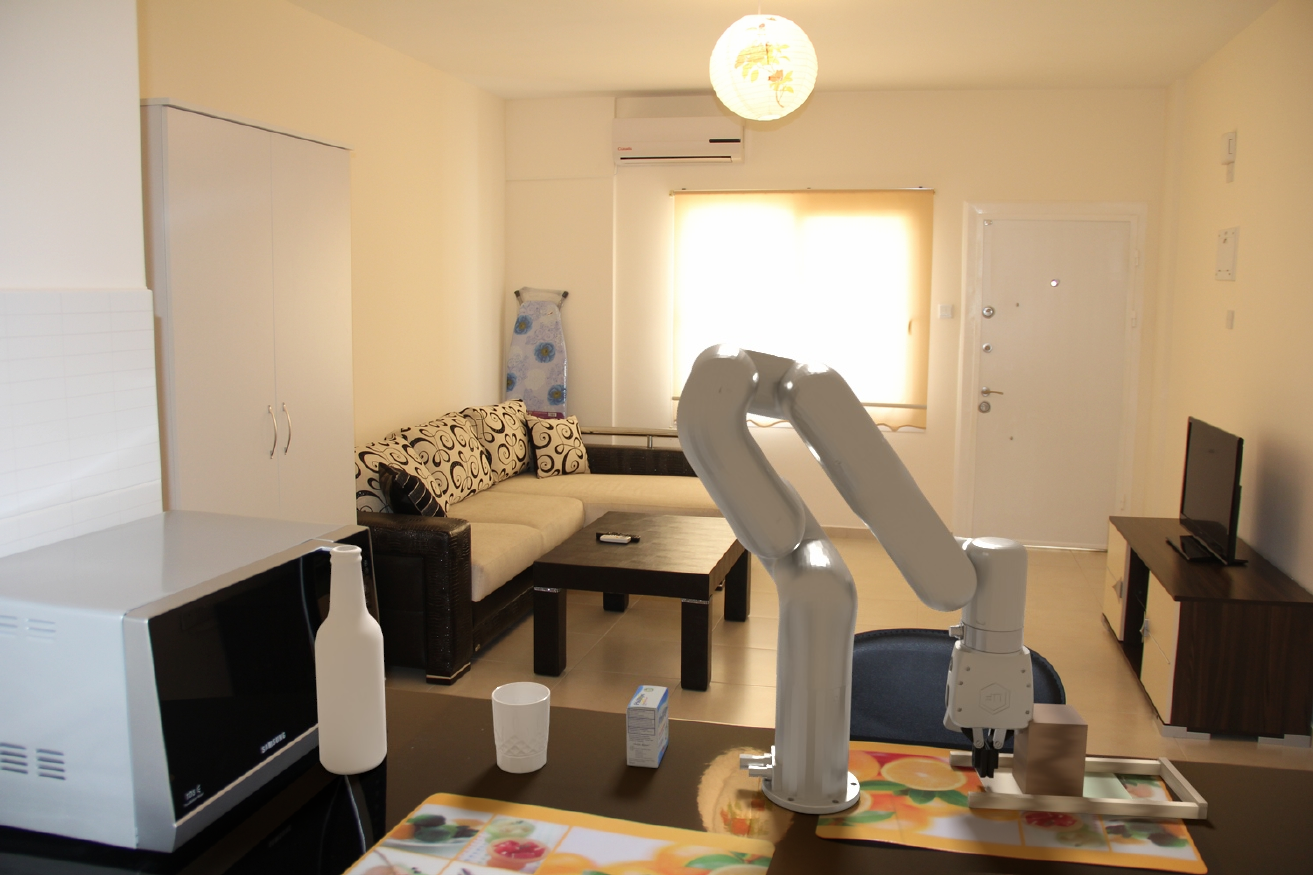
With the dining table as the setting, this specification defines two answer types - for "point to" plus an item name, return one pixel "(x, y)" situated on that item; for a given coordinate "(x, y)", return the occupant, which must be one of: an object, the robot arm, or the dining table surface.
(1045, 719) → the walnut block
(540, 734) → the white cup
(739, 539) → the robot arm
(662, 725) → the medicine box
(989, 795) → the channel board
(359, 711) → the alcohol
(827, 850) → the dining table surface
